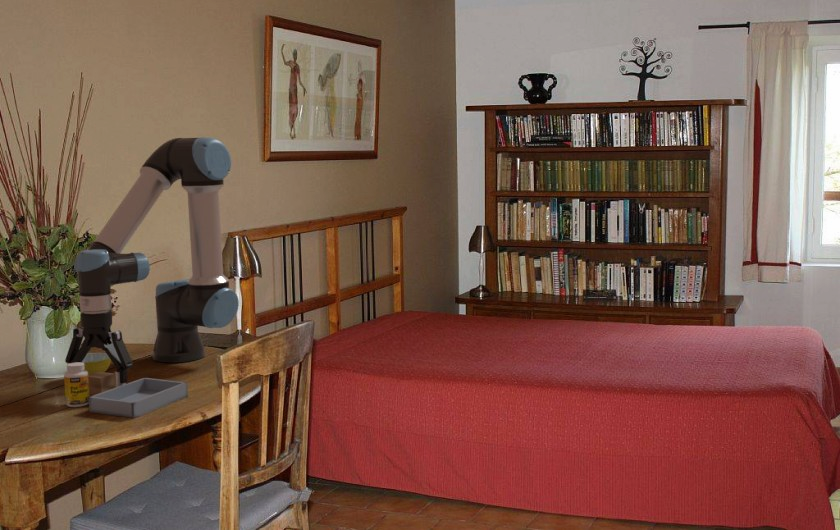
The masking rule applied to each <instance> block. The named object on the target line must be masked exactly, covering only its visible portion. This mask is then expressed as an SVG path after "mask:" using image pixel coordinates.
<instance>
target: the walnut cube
mask: <svg viewBox="0 0 840 530" xmlns="http://www.w3.org/2000/svg"><path fill="white" fill-rule="evenodd" d="M88 377H89V396H90V397H91V396H94V395H96V394H99V393H102V392H105V391H108V390H111V389H113V388H116V379H115V372H112V373H111V372H106V371H105V372H97V373H94V374H91V375H88Z"/></svg>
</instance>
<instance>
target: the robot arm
mask: <svg viewBox="0 0 840 530" xmlns="http://www.w3.org/2000/svg"><path fill="white" fill-rule="evenodd" d="M231 167H232V158H231V155H230V152H229V150H228V148H227V146H226V145H224V143H223V142H222V141H220V140H219V139H217V138H213V137H204V136H203V137H175V138H172V139H169V140H167V141H166V142H164V143H163V144H161V145H160V146H159V147H157V148H156V149H155V150H154V151H153V152H152V153H151V155H149V156H148V158H147V159H146V161H144V163H143V164H142V165H141V167H140V169H139V174H140V175H139V176H138V178H137V179H136V181H135V183H134V184H133V185H132V187H131V188H130V189H129V191H127V193H126V195H125V197H124V198H123V199H122V201H121V202H120V203H119V205H118V206H117V208H116V209H115V211H114V212H113V213H112V215H111V216H110V218H109V219H108V220H107V222H106V223H105V225H104V226H103V228H102V229H101V230H100V232H99V233H98V235H97V236H96V238H95V239H94V240H93V241H92V243H91V245H90V246H89V247H88V249H83V250H80V251H81V252H80V251H78V252H79V253H78V252H77V253H78V255H77V256H76V259H75V263H74V269H75V270H76V272H77V274H78V276H77V279H78V280H77V282H78V295H79V308H80V309H79V310H80V311H81V312H80V326H79V327H78V328H77V327H76V328H73V330H72V338H71V342H70V345H69V348H68V350H67V353H66V355H65V356H66V357H65V359H64V361H65V363H66V364H67V363H75V362H82V361H83V359H84V358H85V356H86V355H87V353H90V350H91V349H92V348H97V349H101V350H102V351H103V352H104V353H105V354H107V355H108V356H109V358H110V359H111V362H112V364H113V365H114V367H115V368H116V370H115V371H114V374H115V388H116V387H119V386H122V385H125V384H127V383H128V370H129V369H131V368H133V367H134V362H133V360H132V357H131V356H130V354H129V351H128V348H127V347H126V345H125V342H124V339H123V334H122V333H123V332H122V331H121V330H117V331H112V329H111V327H112V325H113V313H112V311H111V309H112V308H113V307H112V295H111V294H112V293H111V287H112V286H114V285H119V284H121V285H122V284H128V283H137V282H139V281H143V280H145V279H147V278H148V276H149V275H150V273H151V272H150V271H151V267H150V266H151V264H150V261H149V258H148V257H147V256H146V255H145V254H144V253H142V252H130V253H122V252H123V250H124V249H125V247H126V246H127V244H128V242H130V241H131V238H133V236H134V234H135V233H136V231H137V230H138V228H140V226H141V224H142V223H143V221H144V220H145V219H146V217H147V215H148V214H149V212H150V211H151V209H152V208H153V207H154V205H155V204H156V202H157V201H158V199H159V197H161V194H163V191H167V190H168V191H169V189H170V188H171V187H172V185H173V184H174V183H176V182H177V181H179V180H180V181H181V188H182V189H183V190H185V192H186V193H187V205H188V206H187V207H188V220H189V221H188V222H189V242H190V254H191V255H190V256H191V272H192V275H191V277H190V278H187V279H177V280H170V281H165V282H160V283H158V284H157V285H156V286H155V295H154V296H155V297H154V298H155V299H154V300H155V311H156V328H157V333H156V334H157V335H156V338H155V341H154V346H153V348H152V359H153V360H154V361H156V362H159V363H184V362H192V361H196V360H200V359H203V358H204V357H205V356H206V348H205V346H204V344H203V340H202V337H201V334H200V332H199V327H204V328H207V329H222V328H225V327H227V326H228V325H230V324H231V323H232V322H233V320H234V318H235V317H236V316H237V314H238V310H239V306H240V305H239V304H240V303H239V302H240V301H239V296H238V295H237V293H236V292H235V290H233V289H232V288H230V280H229V278H228V277H227V276H226V275H225V274H224V266H223V264H224V263H223V247H222V231H221V215H220V214H221V213H220V212H221V210H220V209H221V208H220V195H219V193H220V190H221V189H222V188H223V187H224V179H225V178H226V177H227V176H229V174H230V173H229V172H230V171H231V170H232V169H231ZM83 339H84V340H83Z"/></svg>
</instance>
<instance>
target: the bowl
mask: <svg viewBox="0 0 840 530" xmlns="http://www.w3.org/2000/svg"><path fill="white" fill-rule="evenodd" d="M111 362H112V361H111V359H110V358H109V356H108V355H107V353H106V352H88V353H87V355H86V356H85V358H84V359H83V361H82V363H84V367H85V370H86V371H88V375H91V374H94V373H97V372H106V371H107V370H108V369H109V367H110V365H111ZM68 364H70V363H66V365H68Z"/></svg>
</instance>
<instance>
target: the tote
mask: <svg viewBox="0 0 840 530" xmlns="http://www.w3.org/2000/svg"><path fill="white" fill-rule="evenodd" d="M188 393H189V390H188V382H187V381H186V382H185V381H177V380H167V379H159V378H149V377H142V378H139V379H136V380H134V381H130V382H127V383H126V384H125V385H122V386H119V387H116V386H115V388H113V389H111V390H108V391H105V392H102V393H99V394H96V395H94V396H90V397H89V404H88V411H89V413H95V414H100V415H102V414H103V415H108V416H109V415H110V416H115V417H121V418H123V417H124V418H129V419H130V418H131V419H136V418H139V417H141V416H143V415H146V414H148V413H151V412H153V411H156V410H158V409H161V408H163V407H166V406H168V405H171V404H173V403H176V402H177V401H181V400H184V399H185V398H187V397H189V394H188Z"/></svg>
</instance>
